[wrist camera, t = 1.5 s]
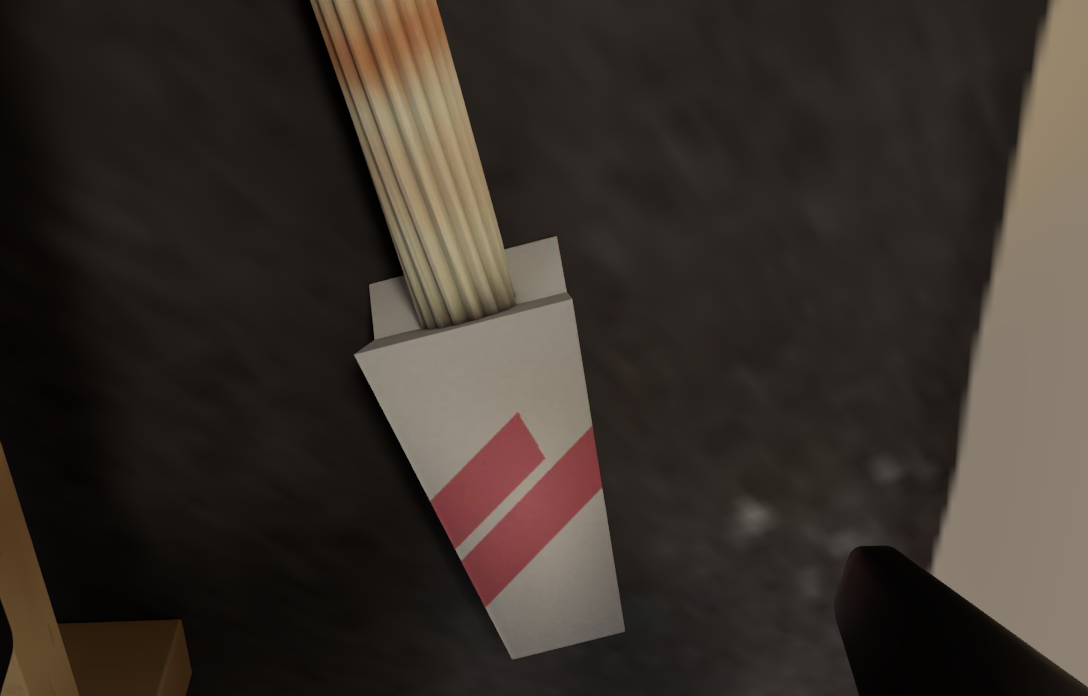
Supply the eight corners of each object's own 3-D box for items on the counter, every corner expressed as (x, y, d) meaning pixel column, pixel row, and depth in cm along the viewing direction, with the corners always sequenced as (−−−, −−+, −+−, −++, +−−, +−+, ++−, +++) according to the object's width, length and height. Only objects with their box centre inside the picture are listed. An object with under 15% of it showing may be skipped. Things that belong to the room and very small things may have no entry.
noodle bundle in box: (491, 717, 19) (56, -429, 10) (486, 624, 22) (133, -370, 12) (659, 679, 19) (396, -517, 9) (635, 589, 22) (405, -440, 12)
